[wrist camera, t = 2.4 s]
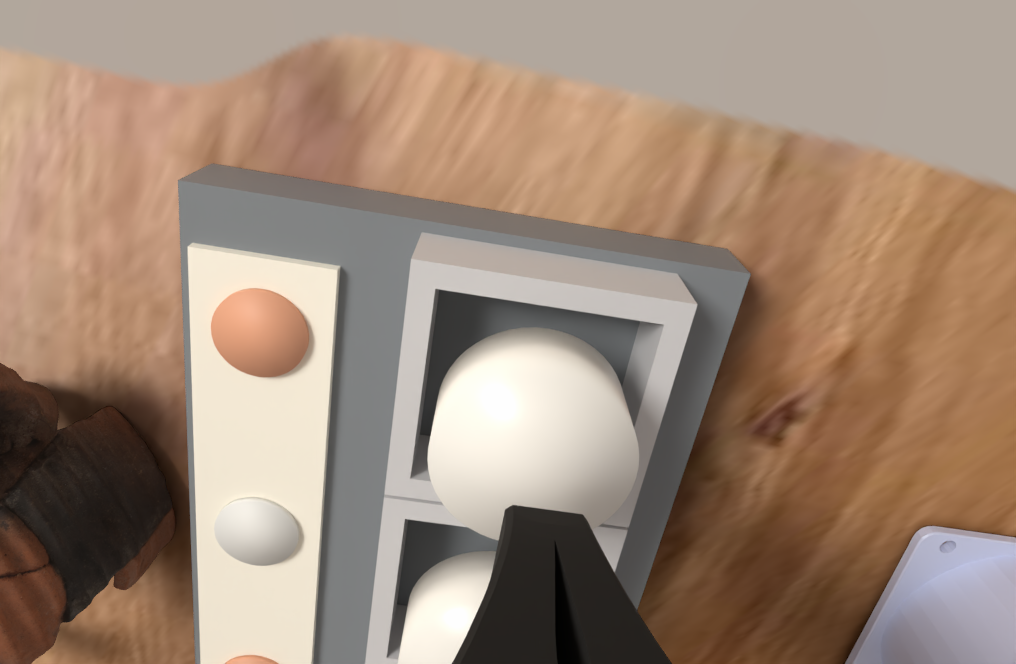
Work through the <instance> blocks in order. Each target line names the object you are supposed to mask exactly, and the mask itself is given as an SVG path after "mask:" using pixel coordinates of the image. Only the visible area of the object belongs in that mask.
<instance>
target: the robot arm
mask: <svg viewBox="0 0 1016 664" xmlns="http://www.w3.org/2000/svg"><path fill="white" fill-rule="evenodd" d="M946 541H947V542H946ZM944 542H946V543H944ZM943 543H944V544H943ZM452 664H672V663H671V662H670V660H669V659H668V657H667V656H666V654H665V653H664V651H663V650H662V649H661V647H660V646H659V644H658V643H657V641H656V640H655V638H654V637H653V635H652V634H651V632H650V631H649V629H648V627H647V626H646V624H645V623H644V621H643V620H642V618H641V616H640V615H639V613H638V611H637V610H636V608H635V606H634V605H633V603H632V601H631V600H630V598H629V597H628V595H627V593H626V592H625V590H624V588H623V586H622V585H621V583H620V581H619V580H618V578H617V576H616V574H615V572H614V571H613V569H612V567H611V565H610V563H609V561H608V560H607V558H606V556H605V554H604V552H603V550H602V548H601V546H600V545H599V543H598V541H597V539H596V537H595V535H594V533H593V531H592V529H591V527H590V525H589V523H588V521H587V519H586V518H585V517H584V515H583V514H577V513H570V512H562V511H555V510H547V509H540V508H533V507H525V506H518V505H512V506H510V507H508V508H506V509H505V512H504V517H503V522H502V527H501V531H500V536H499V541H498V546H497V550H496V555H495V560H494V565H493V570H492V574H491V579H490V582H489V584H488V587H487V590H486V593H485V595H484V598H483V600H482V602H481V604H480V607H479V609H478V611H477V613H476V615H475V618H474V620H473V622H472V624H471V626H470V629H469V631H468V633H467V635H466V637H465V639H464V641H463V643H462V645H461V647H460V649H459V651H458V653H457V655H456V657H455V659H454V661H453V662H452ZM845 664H1016V537H1009V536H1002V535H995V534H988V533H981V532H974V531H966V530H959V529H952V528H945V527H938V526H926V527H923V528H921V529H919V530H918V531H917V532H916V533H915V534H914V536H913V538H912V539H911V541H910V543H909V545H908V547H907V549H906V551H905V553H904V554H903V556H902V558H901V560H900V562H899V564H898V566H897V567H896V569H895V571H894V573H893V575H892V577H891V579H890V580H889V582H888V584H887V586H886V588H885V590H884V592H883V594H882V595H881V597H880V599H879V601H878V603H877V605H876V607H875V608H874V610H873V612H872V614H871V616H870V618H869V620H868V621H867V623H866V625H865V627H864V629H863V631H862V633H861V634H860V636H859V638H858V640H857V642H856V644H855V646H854V648H853V649H852V651H851V653H850V655H849V657H848V659H847V661H846V662H845Z"/></svg>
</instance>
